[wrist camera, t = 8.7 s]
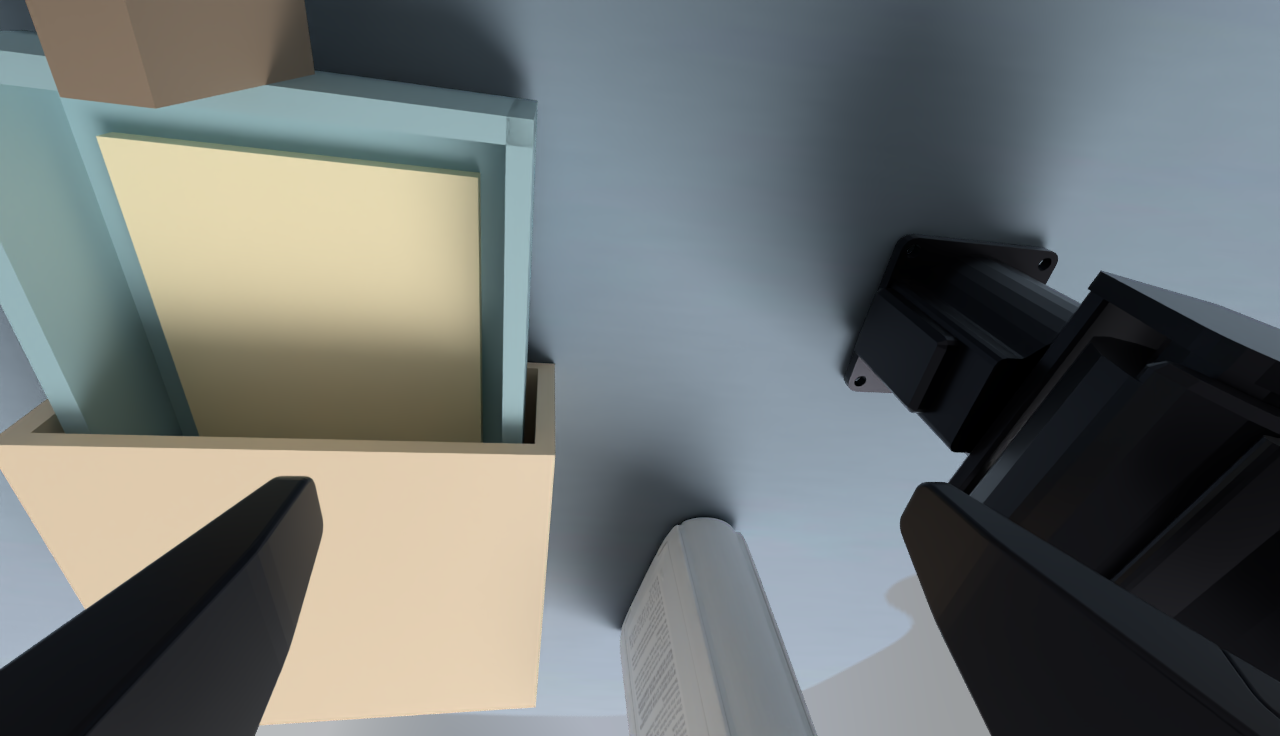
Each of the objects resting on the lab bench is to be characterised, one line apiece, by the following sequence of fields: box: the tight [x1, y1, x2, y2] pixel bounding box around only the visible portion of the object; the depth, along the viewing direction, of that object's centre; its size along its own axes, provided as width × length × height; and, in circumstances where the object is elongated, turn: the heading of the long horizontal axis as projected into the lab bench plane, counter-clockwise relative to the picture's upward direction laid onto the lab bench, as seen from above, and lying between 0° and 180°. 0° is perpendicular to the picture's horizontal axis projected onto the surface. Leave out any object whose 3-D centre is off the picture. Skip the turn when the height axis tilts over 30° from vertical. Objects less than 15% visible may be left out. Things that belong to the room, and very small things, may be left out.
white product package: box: [620, 517, 817, 736], centre depth 23 cm, size 10×4×12 cm, turn 162°
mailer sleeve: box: [0, 362, 555, 725], centre depth 21 cm, size 14×15×5 cm
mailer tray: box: [0, 0, 538, 444], centre depth 14 cm, size 12×18×7 cm, turn 172°
